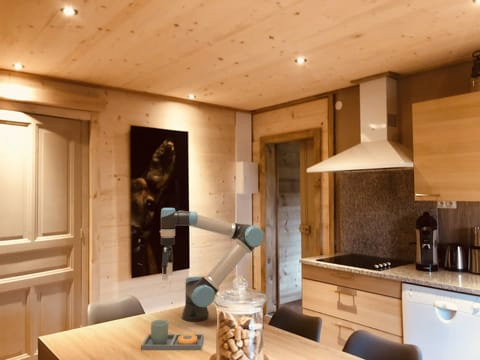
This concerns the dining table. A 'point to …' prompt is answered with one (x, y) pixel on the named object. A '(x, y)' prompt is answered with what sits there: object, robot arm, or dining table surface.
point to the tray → (172, 343)
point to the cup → (159, 332)
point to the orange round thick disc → (187, 339)
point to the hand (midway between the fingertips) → (167, 277)
